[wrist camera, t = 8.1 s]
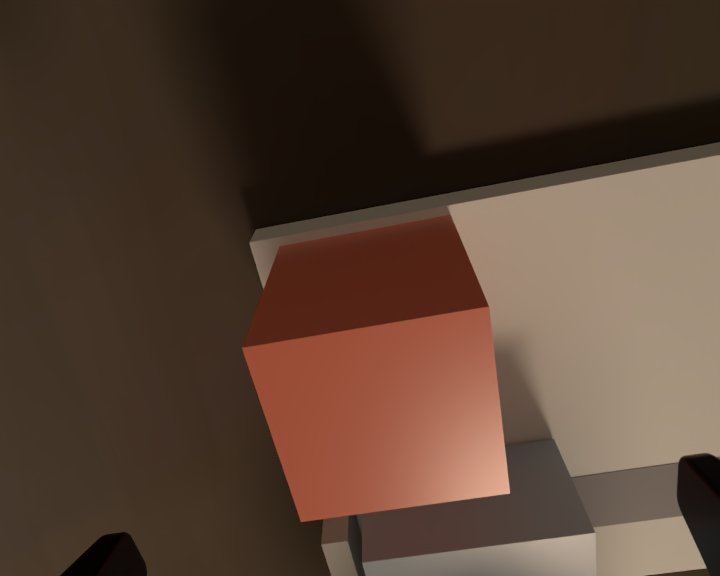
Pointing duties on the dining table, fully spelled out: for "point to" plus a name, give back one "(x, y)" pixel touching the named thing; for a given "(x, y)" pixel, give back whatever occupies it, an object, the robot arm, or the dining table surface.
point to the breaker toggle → (490, 527)
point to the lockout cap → (379, 371)
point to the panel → (587, 334)
